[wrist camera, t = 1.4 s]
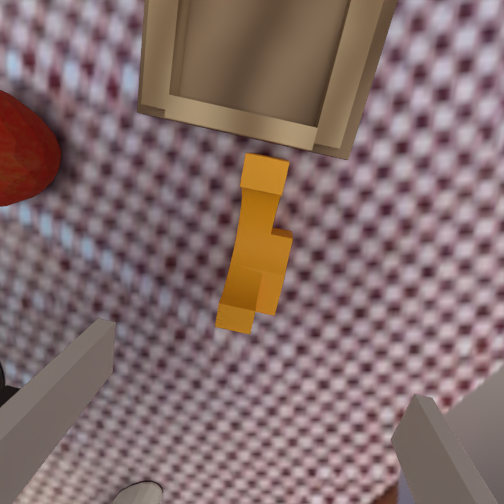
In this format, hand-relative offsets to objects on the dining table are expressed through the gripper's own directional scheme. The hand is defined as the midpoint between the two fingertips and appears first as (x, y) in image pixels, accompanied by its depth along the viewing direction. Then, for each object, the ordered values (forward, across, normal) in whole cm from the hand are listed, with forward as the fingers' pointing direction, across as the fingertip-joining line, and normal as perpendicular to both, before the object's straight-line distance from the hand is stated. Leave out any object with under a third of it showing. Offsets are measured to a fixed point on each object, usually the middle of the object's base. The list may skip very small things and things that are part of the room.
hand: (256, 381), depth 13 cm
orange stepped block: (+14, -1, +3) cm, 15 cm away
